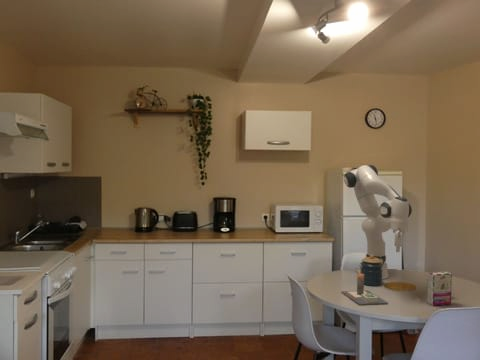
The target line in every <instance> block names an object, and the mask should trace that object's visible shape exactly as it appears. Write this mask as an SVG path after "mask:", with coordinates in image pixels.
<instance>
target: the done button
mask: <svg viewBox="0 0 480 360" xmlns="http://www.w3.org/2000/svg"><path fill="white" fill-rule="evenodd" d="M373 294H374V293H373V292H371V293H366V296H367V297H373Z"/></svg>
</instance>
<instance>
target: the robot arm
mask: <svg viewBox="0 0 480 360" xmlns="http://www.w3.org/2000/svg"><path fill="white" fill-rule="evenodd" d="M343 182H344V184H345V185H346V187H347V188H349V189H350V188H353V190H354V195H355V198H356V200H357V202H358V205H359V207H360V211H361V212H363V214H365V215H366V216H367V217H366V218H364V219H363V221H362V223H361V229H362V231H363V232H364V234H365V238H366V242H367V245H366V246H367V247H366V248H367V250H366V252H367V253H365V257H370V255H374V257H375V258H378V259H379V260H381V264H382V265H383V266H382V270H383V271H382V280H385V279H387V278H388V277H390V274H389V272H388V263H387V262H386V261H387V255H386V242H385V240H384V239H383V233H386V232H388V231H389V230H391V231H392V233H394V242H393V243H394V246H395V249H396V250H395V252H396V253H400V251H401V250H400V249H401V247H402V245H403V238H404V235H405V234H406V232H408V231H409V217H410V216H411V215H412V212H413V209H412V206H411V204H410V202H409V200H408V199H407V198H405V197H401V196H400V195H399V194H398V193H397V191H396V190H395V189H394V188H393V187H392V186H391V185H390V184H388V183H387V182H385V181H384V180H383V179H382V178H381V177H380V176H379V171H378V169H377V167H376V166H375V165H373V164H368V165H366V164H365V165H360V166H359V167H358V168H355V169H353V170H351V171H347V172H345V174H344V175H343ZM375 195H378V196H383V197H385V198H386V199H388V200H387V201H384V202H382V203H381V204H380V205H379V204H378V200H377V199H376V197H375ZM360 268H361V264H359V269H356V271H355V272H356V273H357V274H359V273H361V270H360Z"/></svg>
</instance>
